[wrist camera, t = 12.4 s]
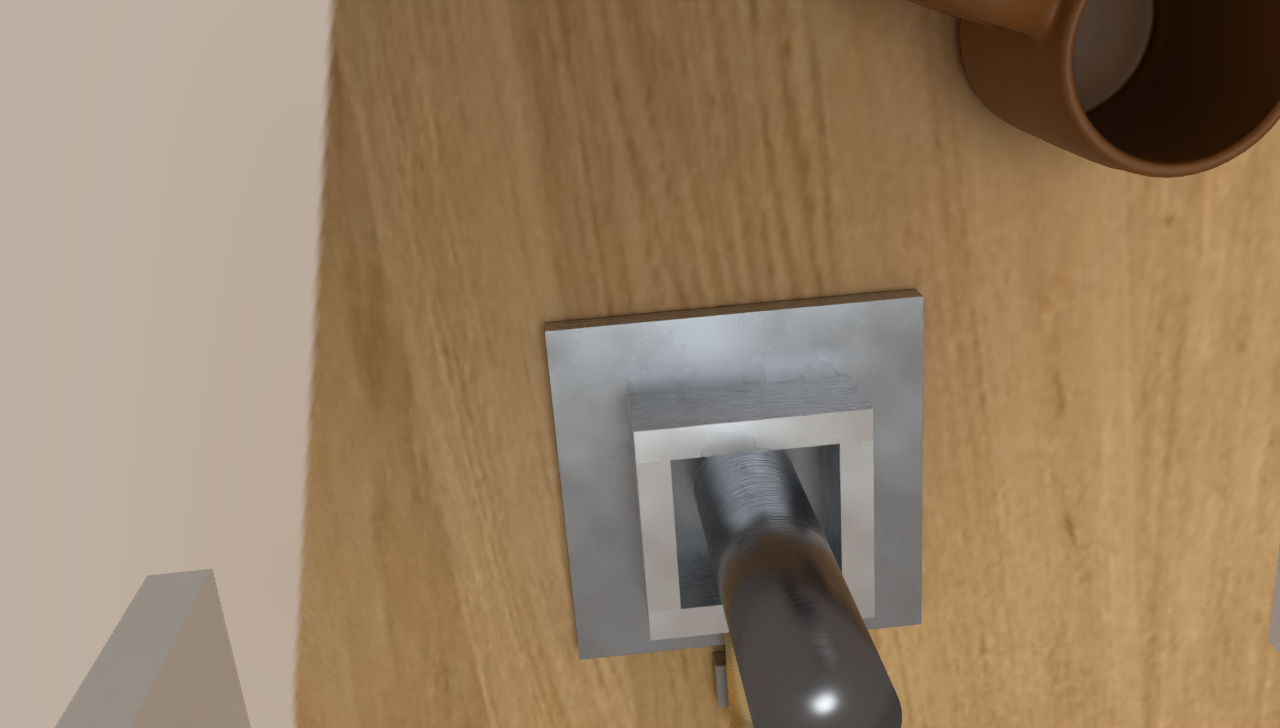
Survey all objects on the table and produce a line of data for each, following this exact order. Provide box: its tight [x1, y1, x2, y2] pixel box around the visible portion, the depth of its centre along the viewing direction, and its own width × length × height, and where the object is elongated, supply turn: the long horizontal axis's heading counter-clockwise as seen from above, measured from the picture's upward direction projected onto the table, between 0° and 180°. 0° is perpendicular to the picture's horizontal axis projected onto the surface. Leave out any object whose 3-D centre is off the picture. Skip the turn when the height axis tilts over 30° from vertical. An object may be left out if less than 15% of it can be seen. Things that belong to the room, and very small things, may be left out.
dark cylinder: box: [694, 449, 902, 728], centre depth 40 cm, size 4×4×15 cm
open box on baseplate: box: [545, 289, 923, 728], centre depth 46 cm, size 18×14×4 cm
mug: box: [908, 0, 1280, 178], centre depth 38 cm, size 12×8×9 cm, turn 74°
